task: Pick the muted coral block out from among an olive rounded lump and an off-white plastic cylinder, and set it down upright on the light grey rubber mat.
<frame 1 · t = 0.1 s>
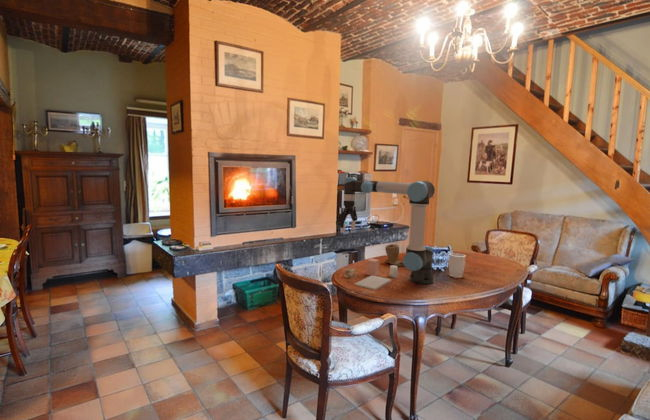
hand: (347, 231, 249), 28 cm above the table, fingers open, 13 cm apart
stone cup: (394, 264, 272), on the table
grey mat: (373, 283, 228), on the table
off-white cylinder: (393, 276, 242), on the table
jar: (455, 276, 247), on the table
olive rounded lump: (349, 277, 239), on the table
coral block: (372, 274, 246), on the table
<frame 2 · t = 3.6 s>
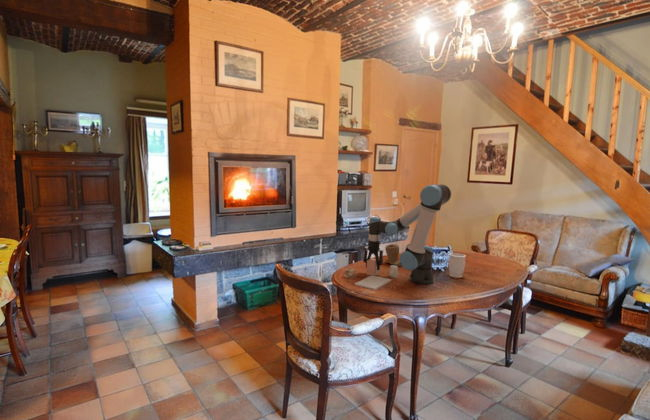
hand: (372, 273, 246), 0 cm above the table, fingers closed on coral block, 6 cm apart
coral block: (372, 274, 246), on the table, touching gripper
everything else where it was.
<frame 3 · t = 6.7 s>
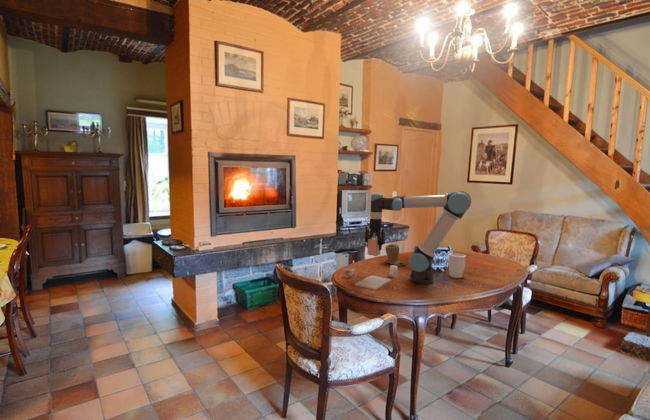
hand: (373, 253, 233), 17 cm above the table, fingers closed on coral block, 6 cm apart
coral block: (373, 254, 233), point 16 cm above the table, touching gripper
everything else where it was.
when the fingers open (3 cm above the table, at t = 10.2 s): coral block drops 1 cm, resting on grey mat.
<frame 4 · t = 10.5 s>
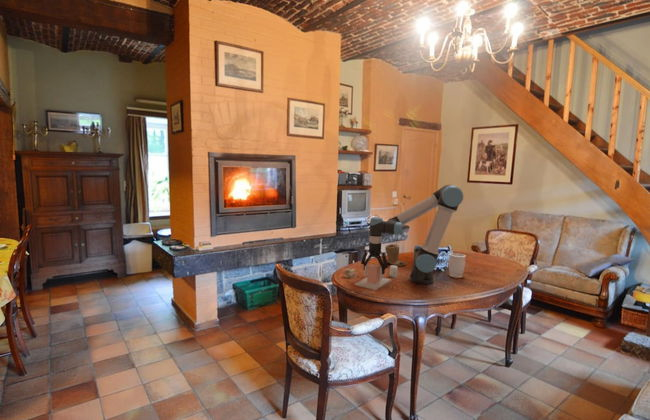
hand: (373, 277, 227), 4 cm above the table, fingers open, 10 cm apart
coral block: (373, 281, 227), point 1 cm above the table, touching grey mat
everything else where it was.
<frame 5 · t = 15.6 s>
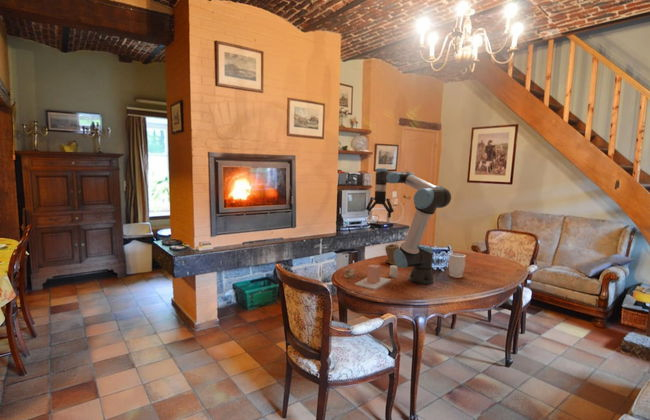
hand: (378, 221, 253), 35 cm above the table, fingers open, 13 cm apart
nothing on the table moved.
at the end: coral block inside the target area on the grey mat (0.1 cm from its centre), point 1.0 cm above the grey mat's base; coral block tilted 0°; the gripper is holding nothing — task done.
